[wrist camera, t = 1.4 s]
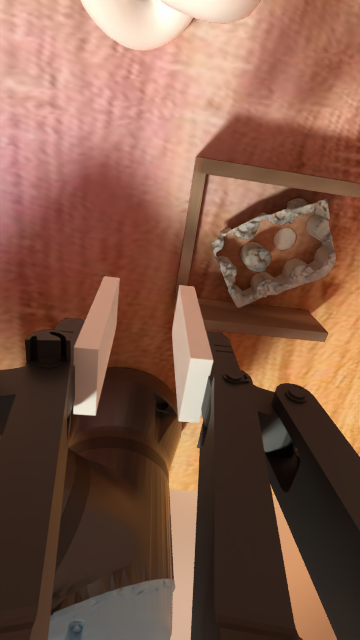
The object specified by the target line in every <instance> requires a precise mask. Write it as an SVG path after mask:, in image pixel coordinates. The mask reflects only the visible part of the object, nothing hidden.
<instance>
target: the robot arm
mask: <svg viewBox="0 0 360 640" xmlns="http://www.w3.org/2000/svg"><path fill="white" fill-rule="evenodd" d="M119 283H120V278H116V277H107V276H104V277H103V280H102V282H101V285H100V287H99V289H98V292H97V294H96V296H95V299H94V301H93V303H92V306H91V308H90V310H89V313H88V315H87V318H86V320H82V319H72V318H66V319H64V320H62V321H61V322H59V323H58V324H57V326H56V328H55V329H54V330H41V331H37V332H34V333H32V334H30V335H28V337H27V338H26V339H25V346H26V360H27V363H26V366H24V367H20V368H15V369H7V370H0V640H170V637H171V633H172V596H173V591H174V589H175V583H174V576H173V556H172V537H171V516H170V496H169V469H170V467H171V464H172V461H173V458H174V455H175V452H176V449H177V446H178V443H179V440H180V437H181V430H182V422H194V423H199V421H200V417H201V412H202V416H203V424H202V428H201V433H200V437H199V441H198V446H197V448H200V457H199V478H198V499H197V520H196V521H197V522H196V543H195V562H194V583H193V606H192V626H191V640H303V639H302V638H300V637H299V635H298V633H297V631H296V628H295V624H294V619H293V613H292V608H291V602H290V596H289V590H288V584H287V579H286V573H285V567H284V561H283V556H282V550H281V544H280V538H279V533H278V527H277V521H276V515H275V509H274V504H273V498H272V492H271V486H272V489H273V491H274V493H275V496H276V498H277V500H278V502H279V505H280V507H281V510H282V512H283V514H284V517H285V519H286V521H287V523H288V526H289V528H290V530H291V533H292V535H293V538H294V540H295V542H296V545H297V547H298V549H299V552H300V554H301V556H302V559H303V561H304V563H305V566H306V568H307V570H308V572H309V575H310V577H311V579H312V582H313V584H314V586H315V589H316V591H317V593H318V596H319V598H320V600H321V603H322V605H323V607H324V610H325V612H326V614H327V617H328V619H329V621H330V624H331V626H332V628H333V630H334V633H335V635H336V637H337V640H360V457H359V455H358V454H357V453H356V451H355V450H354V449H353V447H352V446H351V445H350V443H349V442H348V441H347V439H346V438H345V437H344V435H343V434H342V433H341V431H340V430H339V429H338V427H337V426H336V425H335V423H334V422H333V421H332V419H331V418H330V417H329V415H328V414H327V413H326V411H325V410H324V409H323V408H322V406H321V405H320V404H319V402H318V401H317V400H316V398H315V397H314V396H313V395H312V394H311V393H310V392H309V391H308V390H306V389H304V388H303V387H301V386H298V385H295V384H289V383H285V384H280V385H279V386H277V388H276V391H275V392H272V391H269V390H265V389H262V388H259V387H256V386H254V385H253V382H252V379H251V377H250V376H249V375H248V374H247V373H246V372H244V371H242V370H240V368H239V365H238V363H237V360H236V357H235V355H234V353H233V349H232V348H231V344H230V341H229V339H228V338H227V337H226V336H225V335H224V334H223V333H218V332H208V331H206V330H205V326H204V322H203V318H202V315H201V311H200V307H199V303H198V299H197V295H196V292H195V288H194V287H193V286H184V285H179V290H178V296H177V303H176V309H175V316H174V322H173V329H172V341H173V354H174V368H175V381H176V395H177V398H176V397H175V395H174V394H173V392H172V391H171V390H170V389H169V388H168V387H167V386H166V385H165V384H164V383H163V382H162V381H160V380H159V379H157V378H155V377H154V376H152V375H149V374H147V373H145V372H142V371H138V370H134V369H128V368H107V365H108V361H109V356H110V352H111V348H112V344H113V339H114V335H115V331H116V325H117V311H118V297H119ZM270 484H271V486H270Z"/></svg>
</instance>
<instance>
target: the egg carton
mask: <svg viewBox="0 0 360 640" xmlns="http://www.w3.org/2000/svg"><path fill="white" fill-rule="evenodd" d="M314 211H315V214H314V215H313V216H311V217H310V219H309V220H308V222H307V226H306V228H307V231H308V233H309V234H310V235H311V236H313V237H314V238H316V239H318V240H320V241H322V246H321V247H320V248H319V249H318V250H317V251H316V253H315V255H314V261H313V262H311V263H309V264H306V263H304V262H303V261H302V260H300V259H297V258H294V259H290V260H288V261H287V262H286V263H285V264H284V266H283V269H282V274H281V275H279V276H277V277H274V278H273V277H272V276H271V275H270V274H269V273H267V272H263V271H265V270H266V268H267V266H268V265H269V264H270V262H271V255H270V252H269V251H268V250H267V249H266V248H264V247H263V246H262V245H261V244H259V243H257V242H249V243H247V244H245V245H244V246H243V248H242V249H241V252H240V256H241V259H242V261H243V262H244V263H245V265H246V267H247V268H249V269H250V270H251V271H255V272H259V273H257V274H255V275H254V276H253V277H252V279H251V283H250V288H248V289H245V290H241V289H240V288H239V287H238V286H237V285H233V284H234V283H235V276H236V274H237V270H236V267H235V266H234V265H233V264H232V262H231V261H230V260H229V258H227V257H226V256H216V253H217V252H218V251H219V250H221V249H222V248H223V245H224V236H226V235H228V234H230V233H233V234H234V235H236V236H237V237H239V238H243V239H253V238H254V237H255V234H256V231H257V229H258V228H259V222H260V221H261V220H264V219H266V220H268V221H270V222H272V223H273V224H280V225H284V224H285V223H292V222H293V221H294V220H295V219H296V218H297V216H300V215H304V214H308V213H311V212H314ZM328 220H330V214H329V208H328V199H327V198H326V199H325V200H320V201H318V202H317V203H314V204H309V203H307V202H306V201H305V200H304V199H303V198H295V199H292V200H290V201H288V202H287V209H284V210H282V211H279V212H276V213H274V214H271V215H268V214H265V213H264V212H263V213H261V214H259V215H258V216H256V217H255V218H253V219H252V220H250V221H248V222H246V223H244V224H242V225H240V226H238V227H236V228H234V229H231V228H230V227H229V228H225V229H223V230H222V231H221V232H220V235H219V236H218V239H217V240H216V241H215V242H212V243H211V245H212V246H213V252H214V255H215V257H216V259H217V261H218V262H219V264H220V269H221V272H222V274H223V276H224V279H225V282H226V284H227V286H228V291H229V294H230V295H231V297H232V299H233V301H234V303H235V304H236V306H237V307H238V308H240V307H242V306H244V305H247V304H249V303H252V302H254V301H255V300H257V299H260V298H266V297H267V296H269V295H277V294H279V293H281V292H283V291H286V290H289V289H292V288H295V287H297V286H299V285H303V284H306V283H310V282H313V281H317V280H320V279H322V278H324V277H325V276H326V275H327V274H328V273H329V272H330V271H331V269H332V268H333V267H334V265H335V264H336V255H335V250H334V246H333V236H332V234H331V232H330V227H329V222H328ZM295 241H296V233H295V231H293V230H292V229H291V228H288V227H285V228H282V229H280V230H279V231H277V232H276V234H275V235H274V238H273V244H274V246H275V247H276V248H277V249H279V250H288V249H290V248H291V247H292V246H293V245H294V244H295Z"/></svg>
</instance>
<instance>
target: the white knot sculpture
mask: <svg viewBox="0 0 360 640" xmlns="http://www.w3.org/2000/svg"><path fill="white" fill-rule="evenodd" d="M260 1H261V0H81V2H82V4H83V6H84V8H85V9H86V11H87V12H88V14H89V15H90V16H91V18H92V19H93V21H94V22H95V23H96V24H97V25H98V26H99V27H100V28H101V29H102V30H103V31H104V32H105V33H106V34H107V35H108V36H109V37H111V38H112V39H113V40H115V41H117V42H118V43H120V44H121V45H123V46H125V47H128V48H131V49H134V50H144V51H146V50H152V49H157V48H159V47H162V46H164V45H166V44H168V43H170V42H171V41H173V40H174V39H175V38H177V37H178V36H179V35H180V34H181V33H182V32H183V31H184V30H185V29H186V28H187V26H188V25H189V24H190V22H191V21H192V19H193V18H196V19H199V20H203V21H207V22H212V23H221V24H226V23H231V22H235V21H238V20H241V19H244V18H246V17H247V16H249V15H250V14H251V13H252V12H253V10H254V9H255V8H256V7H257V5H258V4H259V3H260Z"/></svg>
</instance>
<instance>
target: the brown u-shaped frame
mask: <svg viewBox="0 0 360 640" xmlns="http://www.w3.org/2000/svg"><path fill="white" fill-rule="evenodd" d="M206 174H210V175H216V176H222V177H229V178H235V179H241V180H248V181H254V182H260V183H267V184H273V185H279V186H286V187H292V188H298V189H305V190H311V191H317V192H324V193H330V194H336V195H343V196H349V197H355V198H360V184H359V183H353V182H347V181H341V180H335V179H329V178H323V177H317V176H311V175H305V174H299V173H292V172H286V171H280V170H274V169H268V168H262V167H256V166H250V165H244V164H237V163H231V162H225V161H219V160H213V159H207V158H201V157H196V160H195V166H194V173H193V180H192V186H191V193H190V199H189V206H188V213H187V219H186V226H185V232H184V239H183V246H182V252H181V259H180V265H179V272H178V279H177V285H176V292H175V298H174V313H175V309H176V303H177V296H178V290H179V285H184V286H187V285H188V279H189V273H190V267H191V261H192V255H193V249H194V243H195V237H196V231H197V225H198V219H199V213H200V207H201V201H202V195H203V189H204V183H205V177H206ZM197 299H198V303H199V307H200V311H201V315H202V318H203V322H204V326H205V330H213V331H222V332H232V333H242V334H252V335H261V336H271V337H281V338H290V339H300V340H310V341H320V342H325V340H326V338H327V335H328V332H327V331H326V330H325V329H324V328H323V327H322V326H321V324H320V323H319V322H318V321H317V320H316V319H315V318H314V317H313V316H312V315H311V314H310V312H309V311H308V310H299V309H290V308H282V307H273V306H264V305H255V304H247V305H244V306H242V307H240V308H238V307H237V306H236V304H235V303H234V302H229V301H220V300H211V299H203V298H197Z"/></svg>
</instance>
